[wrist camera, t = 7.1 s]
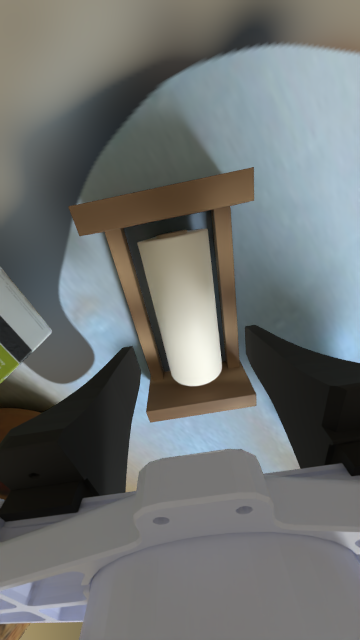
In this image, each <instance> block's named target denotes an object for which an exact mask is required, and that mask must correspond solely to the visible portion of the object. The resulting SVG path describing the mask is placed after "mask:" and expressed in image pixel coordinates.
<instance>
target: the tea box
mask: <svg viewBox="0 0 360 640" xmlns="http://www.w3.org/2000/svg"><path fill="white" fill-rule="evenodd" d="M51 333H52V331H51V328H50V327H49V326H48V324H47V323H46V322H45V321H44V319H43V318H42V317H41V316H40V314H39V313H38V312H37V311H36V310H35V308H34V307H33V306H32V305H31V303H30V302H29V301H28V300H27V299H26V297H25V296H24V295H23V294H22V292H21V291H20V290H19V289H18V288H17V286H16V285H15V284H14V283H13V281H12V280H11V279H10V278H9V277H8V275H7V274H6V273H5V272H4V270H3V269H2V268H1V267H0V383H1V382H2V381H3V380H5V379H6V378H7V377H8V376H9V375H10V374H11V373H12V372H13V371H14V370H15V369H16V368H17V367H18V366H19V365H20V364H21V363H22V362H23V361H24V360H25V359H26V358H27V357H28V356H29V355H30V354H31V353H32V352H33V351H34V350H35V349H36V348H37V347H38V346H39V345H40V344H41V343H42V342H43V341H44V340H45V339H46V338H47V337H48V336H49V335H50V334H51Z"/></svg>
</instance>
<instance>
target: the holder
mask: <svg viewBox="0 0 360 640" xmlns="http://www.w3.org/2000/svg"><path fill="white" fill-rule="evenodd" d="M250 201H254V167H252V168H248V169H243V170H238V171H233V172H229V173H224V174H219V175H215V176H210V177H205V178H200V179H196V180H191V181H186V182H182V183H177V184H172V185H167V186H163V187H158V188H153V189H149V190H144V191H139V192H134V193H130V194H125V195H120V196H116V197H111V198H106V199H102V200H97V201H92V202H87V203H83V204H78V205H73V206H69V210H70V212H71V215H72V218H73V220H74V223H75V226H76V228H77V231H78V233H79V236H83V235H89V234H95V233H101V232H105V235H106V238H107V241H108V244H109V247H110V250H111V253H112V257H113V260H114V263H115V266H116V269H117V272H118V275H119V278H120V281H121V284H122V287H123V291H124V294H125V297H126V300H127V303H128V306H129V309H130V312H131V315H132V318H133V321H134V324H135V328H136V331H137V334H138V337H139V340H140V343H141V346H142V349H143V352H144V355H145V358H146V362H147V365H148V368H149V371H150V374H151V379H150V386H149V394H148V402H147V409H146V413H147V415H148V418H149V421H150V422H156V421H163V420H169V419H176V418H182V417H188V416H195V415H201V414H207V413H214V412H220V411H226V410H233V409H239V408H245V407H252V406H256V393H255V391H254V389H253V387H252V385H251V382H250V380H249V378H248V376H247V374H246V372H245V370H244V368H243V366H242V364H241V362H240V360H239V346H238V329H237V312H236V295H235V278H234V260H233V243H232V226H231V209H230V206H233V205H237V204H241V203H245V202H250ZM209 210H211V216H212V227H213V237H214V247H215V257H216V268H217V278H218V288H219V298H220V309H221V319H222V329H223V339H224V349H225V360H226V361H225V362H222V370H221V372H220V374H219V375H218V377H217V378H216V379H214V380H213V381H211V382H209V383H207V384H204V385H200V386H186V385H183V384H180V383H178V382H177V381H176V380H174V378H173V377H172V375H171V371H165V372H164V370H163V366H162V363H161V359H160V355H159V352H158V348H157V345H156V341H155V338H154V334H153V331H152V327H151V323H150V320H149V316H148V313H147V309H146V306H145V302H144V299H143V295H142V292H141V288H140V284H139V281H138V277H137V274H136V270H135V267H134V263H133V260H132V256H131V253H130V249H129V245H128V242H127V238H126V235H125V231H124V228H126V227H131V226H136V225H141V224H145V223H150V222H155V221H160V220H165V219H170V218H175V217H180V216H185V215H189V214H194V213H199V212H204V211H209Z"/></svg>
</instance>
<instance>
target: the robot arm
mask: <svg viewBox="0 0 360 640" xmlns="http://www.w3.org/2000/svg"><path fill="white" fill-rule="evenodd" d="M245 341H246V355H247V357H248V359H249V362H250V364H251V366H252V368H253V370H254V372H255V373H256V375H257V377H258V379H259V380H260V382H261V384H262V385H263V387H264V389H265V390H266V392H267V394H268V395H269V397H270V399H271V401H272V403H273V405H274V407H275V409H276V411H277V414H278V416H279V418H280V420H281V422H282V425H283V427H284V429H285V432H286V434H287V436H288V439H289V441H290V443H291V446H292V448H293V451H294V453H295V455H296V458H297V461H298V463H299V466H300V468H301V469H295V470H288V471H281V472H273V473H266V474H263V472H262V470H261V467H260V464H259V462H258V460H257V458H256V456H255V455H253V454H251V453H249V452H246V451H244V450H242V449H225V450H218V451H211V452H204V453H197V454H190V455H183V456H176V457H169V458H162V459H159V460H155V461H152V462H149V463H148V464H147V465H146V466H145V467H144V468H143V469H142V470H141V471H140V472H139V476H138V483H137V491H133V492H126V493H125V489H126V473H127V459H128V449H129V439H130V430H131V423H132V417H133V413H134V409H135V404H136V400H137V395H138V391H139V386H140V377H141V370H140V367H139V364H138V361H137V358H136V355H135V352H134V349H133V346H130V347H124V348H122V349H121V350H120V351H119V352H118V353H117V354H116V355H115V356H114V357H113V358H112V359H111V360H110V361H109V362H108V363H107V364H106V365H105V366H104V367H103V368H102V369H101V370H100V371H99V372H98V373H97V374H96V375H95V376H94V377H93V378H91V379H90V380H89V381H88V382H87V383H86V384H84V385H83V386H82V387H81V388H79V389H78V390H77V391H75V392H74V393H72V394H71V395H70V396H68V397H67V398H65V399H64V400H62V401H61V402H59V403H58V404H56V405H55V406H53V407H51V408H50V409H48V410H46V411H45V412H43V413H41V414H39V415H38V416H36V417H34V418H32V419H30V420H28V421H26V422H24V423H22V424H20V425H18V426H16V427H14V428H12V429H11V430H10V431H9V432H8V433H7V435H6V436H5V437H4V439H3V440H2V441H1V442H0V481H1V482H2V483H3V484H4V485H5V486H6V487H8V488H9V489H10V490H11V491H10V493H9V495H8V496H7V498H6V500H4V499H0V624H10V623H45V622H47V623H49V622H83V624H82V629H81V633H80V638H79V640H360V363H356V362H351V361H346V360H342V359H338V358H334V357H330V356H327V355H323V354H320V353H316V352H313V351H311V350H308V349H305V348H302V347H300V346H297V345H295V344H293V343H290V342H288V341H286V340H284V339H281V338H279V337H277V336H275V335H274V334H272V333H270V332H268V331H266V330H264V329H262V328H260V327H258V326H256V325H251V326H245Z"/></svg>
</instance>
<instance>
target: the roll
mask: <svg viewBox="0 0 360 640" xmlns="http://www.w3.org/2000/svg"><path fill="white" fill-rule="evenodd" d="M138 247H139V251H140V255H141V259H142V263H143V267H144V270H145V274H146V278H147V282H148V286H149V290H150V294H151V297H152V301H153V305H154V309H155V313H156V317H157V321H158V324H159V328H160V332H161V336H162V340H163V344H164V348H165V352H166V355H167V359H168V363H169V367H170V371H171V375H172V377H173V378H174V380H176V381H177V382H178V383H180V384H183V385H186V386H200V385H204V384H207V383H209V382H211V381H213V380H214V379H216V378H217V377H218V375H219V374H220V372H221V370H222V361H221V351H220V342H219V332H218V323H217V313H216V303H215V294H214V284H213V275H212V265H211V256H210V246H209V237H208V229H196V230H189V231H187V230H179V231H174V232H169V233H164V234H160V235H157V236H156V237H154V238H150V239H146V240H143V241H140V242H138Z"/></svg>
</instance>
